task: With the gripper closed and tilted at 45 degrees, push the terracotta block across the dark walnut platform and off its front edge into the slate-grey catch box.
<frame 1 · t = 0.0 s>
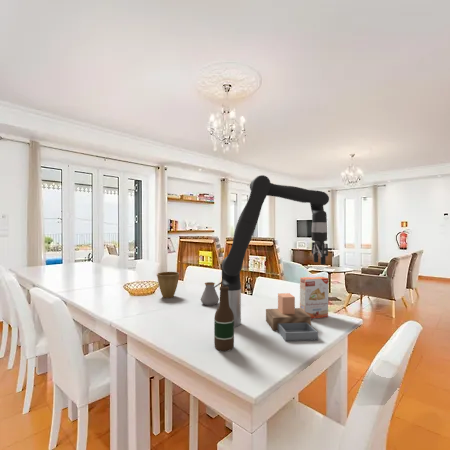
hand: (319, 263, 145), 29 cm above the table, tool pointing down, fingers open, 8 cm apart
catch box: (296, 335, 125), on the table
cracker box: (314, 317, 151), on the table
walnut platform: (287, 324, 139), on the table
coffee pot: (216, 303, 180), on the table
beer bottle: (224, 347, 113), on the table
terracotta block: (286, 311, 141), point 6 cm above the table, touching walnut platform
plant pot: (168, 297, 195), on the table
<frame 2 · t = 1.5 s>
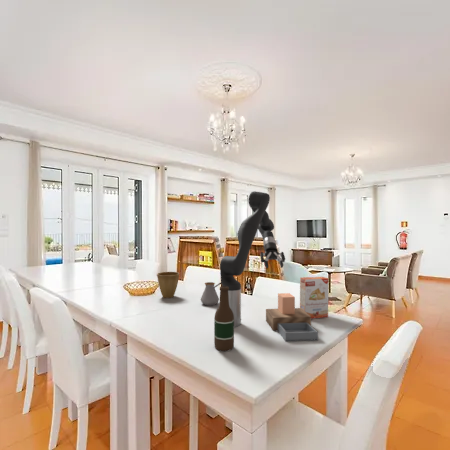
hand: (274, 267, 163), 25 cm above the table, tool tilted 45°, fingers open, 8 cm apart
nothing on the table moved.
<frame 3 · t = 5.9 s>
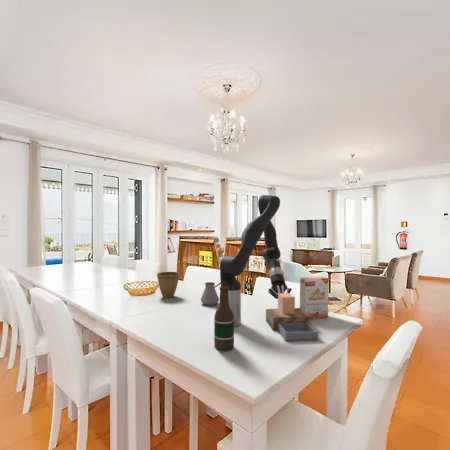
hand: (283, 305, 145), 8 cm above the table, tool tilted 45°, fingers closed
terracotta block: (286, 311, 141), point 6 cm above the table, touching gripper, walnut platform
everything else where it was.
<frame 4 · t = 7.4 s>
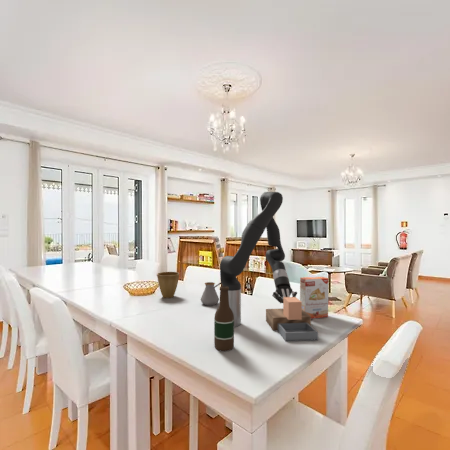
hand: (288, 310, 137), 8 cm above the table, tool tilted 45°, fingers closed
terracotta block: (292, 316, 132), point 6 cm above the table, touching gripper
everything else where it was.
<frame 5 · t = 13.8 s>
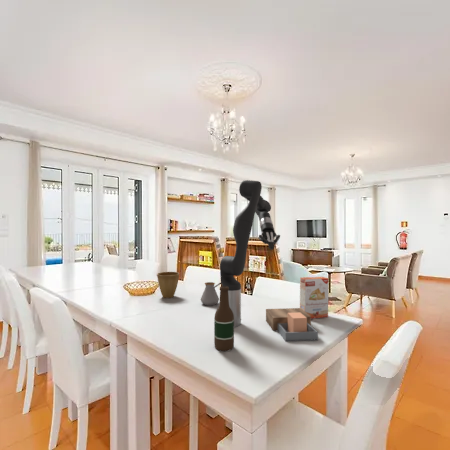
hand: (272, 248, 157), 36 cm above the table, tool tilted 45°, fingers closed
terracotta block: (293, 321, 130), point 5 cm above the table, tilted 90°, touching catch box
everything else where it was.
at the end: terracotta block inside the target area (5.1 cm from its centre), point 4.6 cm above the table; terracotta block moved 10.8 cm from its start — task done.
